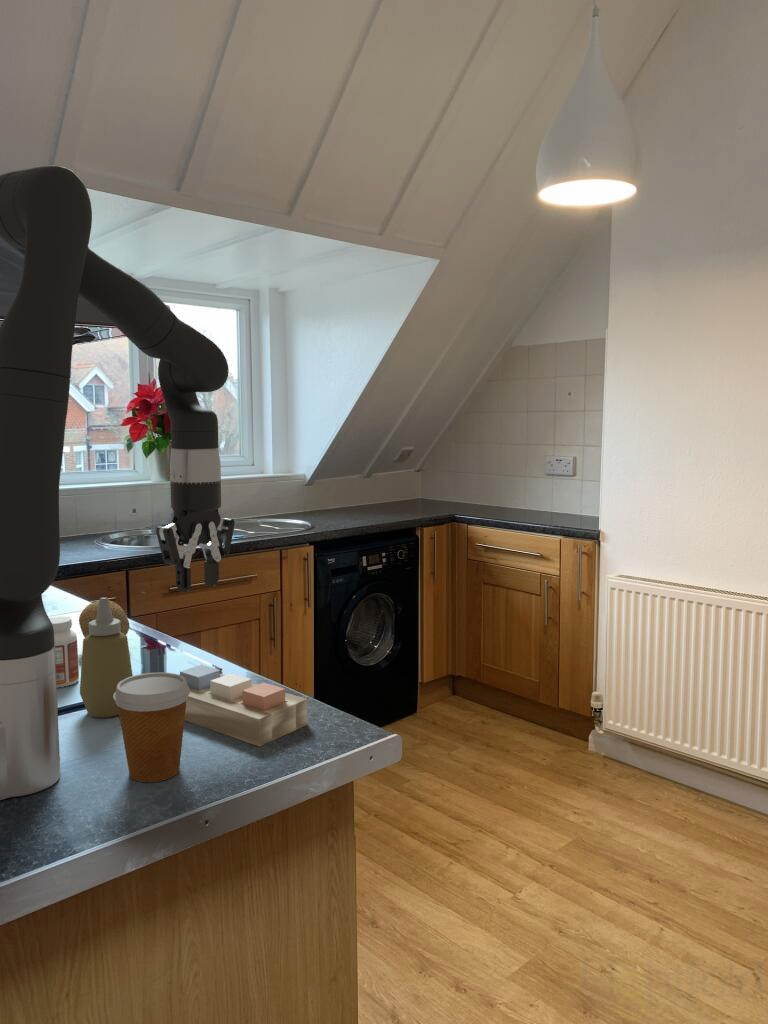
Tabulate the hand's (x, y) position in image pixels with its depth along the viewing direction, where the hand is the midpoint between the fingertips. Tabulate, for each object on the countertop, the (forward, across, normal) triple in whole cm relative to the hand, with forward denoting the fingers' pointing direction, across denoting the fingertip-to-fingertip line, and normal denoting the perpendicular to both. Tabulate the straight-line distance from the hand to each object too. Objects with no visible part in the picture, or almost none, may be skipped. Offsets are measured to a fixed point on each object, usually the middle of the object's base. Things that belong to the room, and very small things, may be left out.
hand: (198, 587), depth 128 cm
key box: (+19, 0, -7) cm, 21 cm away
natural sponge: (+20, +9, +38) cm, 44 cm away
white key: (+17, 0, -7) cm, 18 cm away
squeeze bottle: (+20, -10, +10) cm, 24 cm away
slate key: (+17, 0, 0) cm, 17 cm away
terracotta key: (+17, 0, -14) cm, 22 cm away
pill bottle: (+20, -7, +28) cm, 35 cm away
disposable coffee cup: (+20, -19, -13) cm, 30 cm away
